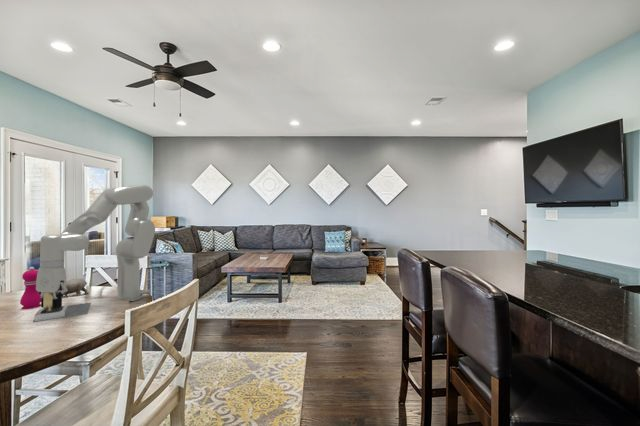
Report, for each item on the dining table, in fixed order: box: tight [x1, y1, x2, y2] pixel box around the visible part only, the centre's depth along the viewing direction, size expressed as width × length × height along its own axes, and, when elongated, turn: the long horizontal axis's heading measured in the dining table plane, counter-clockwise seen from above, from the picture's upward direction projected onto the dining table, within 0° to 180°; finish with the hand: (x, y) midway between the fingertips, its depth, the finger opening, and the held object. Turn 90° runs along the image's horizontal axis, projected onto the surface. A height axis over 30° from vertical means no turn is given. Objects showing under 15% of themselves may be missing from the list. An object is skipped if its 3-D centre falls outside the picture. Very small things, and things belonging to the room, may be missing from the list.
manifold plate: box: [32, 302, 92, 323], centre depth 124 cm, size 17×18×4 cm
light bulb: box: [42, 290, 59, 312], centre depth 119 cm, size 5×5×8 cm
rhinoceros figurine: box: [63, 278, 89, 299], centre depth 149 cm, size 8×14×15 cm
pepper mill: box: [19, 266, 41, 310], centre depth 130 cm, size 7×7×20 cm
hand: (51, 306), depth 119 cm, fingers closed on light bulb, 5 cm apart
